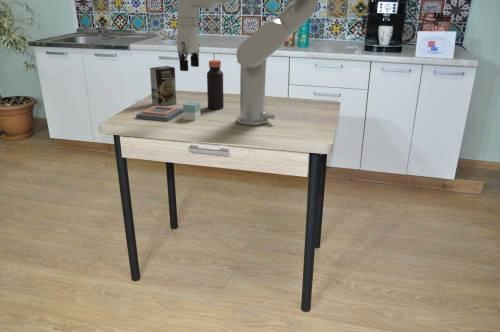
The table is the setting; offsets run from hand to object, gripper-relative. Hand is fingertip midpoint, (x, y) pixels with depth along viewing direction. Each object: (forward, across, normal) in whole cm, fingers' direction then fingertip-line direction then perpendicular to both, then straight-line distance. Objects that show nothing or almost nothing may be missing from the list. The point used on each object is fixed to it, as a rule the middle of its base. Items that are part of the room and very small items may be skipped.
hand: (189, 68), depth 180 cm
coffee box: (+20, -17, -21) cm, 33 cm away
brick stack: (+20, 0, 0) cm, 20 cm away
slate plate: (+20, 0, -14) cm, 24 cm away
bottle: (+20, -18, +3) cm, 27 cm away
